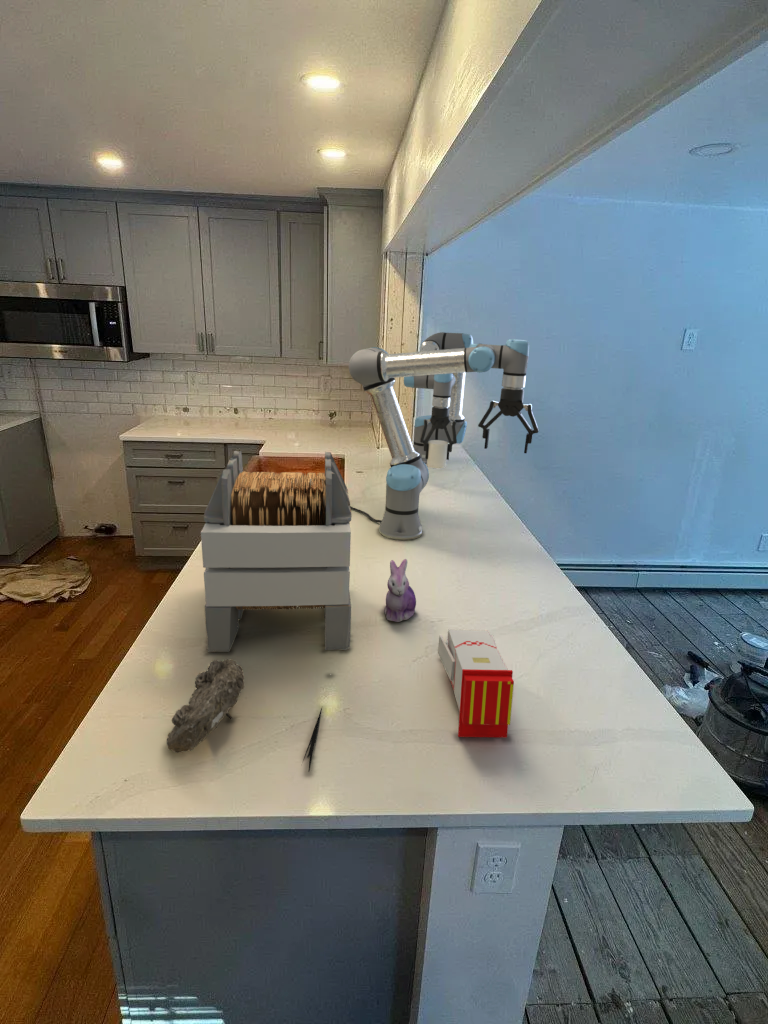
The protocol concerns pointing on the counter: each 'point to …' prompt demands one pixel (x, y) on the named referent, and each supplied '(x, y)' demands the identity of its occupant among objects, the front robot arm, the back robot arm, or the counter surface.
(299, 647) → the counter surface
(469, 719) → the toy
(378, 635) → the counter surface
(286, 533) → the transformer
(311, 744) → the feather
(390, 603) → the figurine
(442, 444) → the canister
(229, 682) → the fossil
